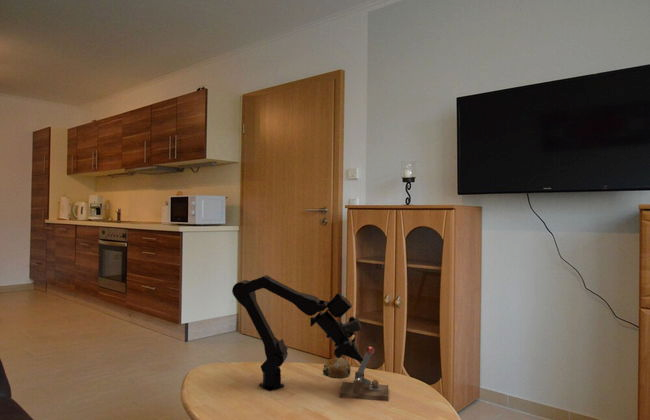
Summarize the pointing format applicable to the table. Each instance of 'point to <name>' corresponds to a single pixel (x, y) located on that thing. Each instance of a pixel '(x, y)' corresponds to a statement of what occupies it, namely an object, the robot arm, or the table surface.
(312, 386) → the table surface
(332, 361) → the bread roll
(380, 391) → the base
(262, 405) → the table surface
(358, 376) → the lever
